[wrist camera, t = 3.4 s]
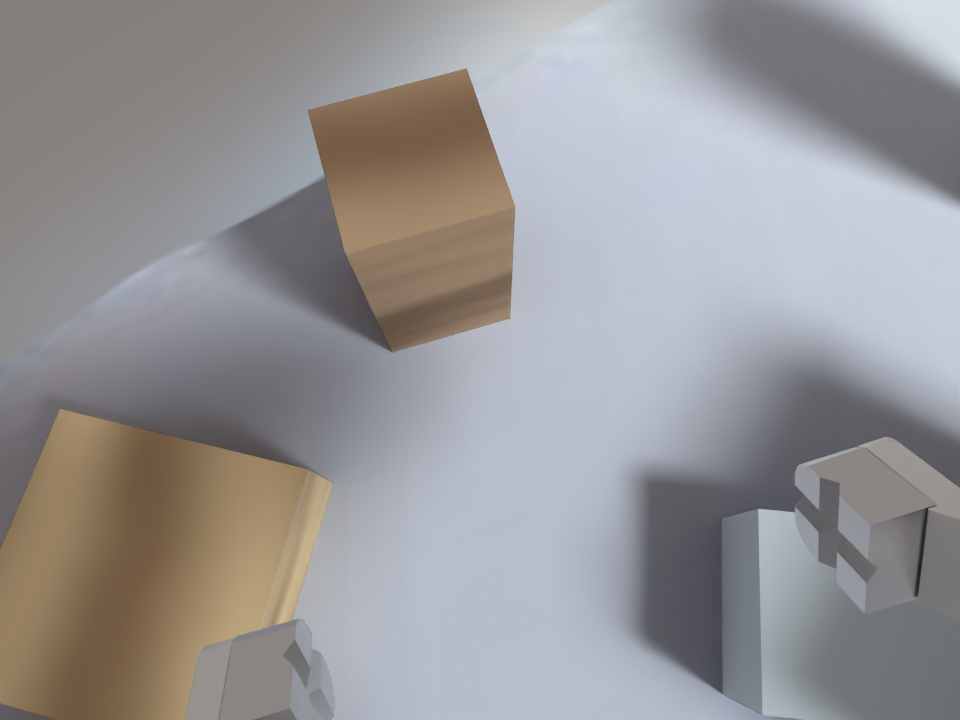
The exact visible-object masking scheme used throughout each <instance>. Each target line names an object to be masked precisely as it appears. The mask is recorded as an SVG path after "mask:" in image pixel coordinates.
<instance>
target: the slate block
mask: <svg viewBox="0 0 960 720" xmlns="http://www.w3.org/2000/svg"><path fill="white" fill-rule="evenodd" d="M722 694H723V695H725V696H727V697H729V698H731V699H733V700H735V701H736V702H738V703H740V704H742V705H744V706H746V707H748V708H750V709H752V710H754V711H755V712H757V713H759V714H761V715H765V716H774V717H783V718H792V719H801V720H960V622H958V621H956V620H954V619H952V618H950V617H948V616H946V615H944V614H942V613H940V612H938V611H936V610H934V609H932V608H930V607H928V606H925V605H923V604H921V603H919V602H918V599H915V600H911V601H908V602H904V603H901V604H897V605H894V606H891V607H887V608H884V609H880V610H877V611H873V612H870V613H866V614H864V613H863V612H862V610H861V609H860V608H859V607H858V606H857V605H856V604H855V603H854V602H853V600H852V599H851V598H850V597H849V596H848V595H847V594H846V593H845V591H844V590H843V589H842V588H841V587H840V586H839V585H838V584H837V582H836V569H835V568H833V567H830V566H828V565H825V564H823V563H820V562H818V561H817V560H816V558H815V557H814V556H813V555H812V554H811V553H810V551H809V550H808V549H807V547H806V545H805V544H804V542H803V540H802V539H801V536H800V533H799V531H798V528H797V525H796V522H795V512H787V511H777V510H766V509H755V510H752V511H748V512H744V513H740V514H736V515H732V516H728V517H724V518H722Z"/></svg>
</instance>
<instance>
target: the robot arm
mask: <svg viewBox="0 0 960 720" xmlns="http://www.w3.org/2000/svg"><path fill="white" fill-rule="evenodd" d="M795 486H796V487H797V488H798V489H799V490H800V491H801V492H802V493H803V494H802V496H801V497H800V499H799V500H798V502H797V503H796V505H795V522H796V525H797V528H798V531H799V533H800V536H801V539H802V540H803V542H804V544H805V545H806V547H807V549H808V550H809V551H810V553H811V554H812V555H813V556H814V557H815V558H816V560H817V561H818V562H820V563H823V564H825V565H828V566H830V567H833V568H835V569H836V582H837V584H838V585H839V586H840V587H841V588H842V589H843V590H844V591H845V593H846V594H847V595H848V596H849V597H850V598H851V599H852V600H853V602H854V603H855V604H856V605H857V606H858V607H859V608H860V609H861V610H862V612H863V613H864V614H866V613H870V612H873V611H877V610H880V609H884V608H887V607H891V606H894V605H897V604H901V603H904V602H908V601H911V600H915V599H918V602H919V603H921V604H923V605H925V606H928V607H930V608H932V609H934V610H936V611H938V612H940V613H942V614H944V615H946V616H948V617H950V618H952V619H954V620H956V621H958V622H960V488H959V487H958V486H957V485H955V484H954V483H953V482H951V481H950V480H949V479H947V478H946V477H945V476H943V475H942V474H941V473H939V472H938V471H937V470H935V469H934V468H933V467H931V466H930V465H929V464H927V463H926V462H925V461H923V460H922V459H921V458H919V457H918V456H917V455H915V454H914V453H913V452H911V451H910V450H909V449H907V448H906V447H905V446H903V445H902V444H901V443H899V442H898V441H897V440H895V439H892V438H889V437H884V438H880V439H877V440H874V441H871V442H868V443H865V444H862V445H859V446H856V447H855V448H850V449H847V450H843V451H840V452H837V453H834V454H831V455H828V456H825V457H821V458H818V459H815V460H812V461H809V462H806V463H803V464H799V465H798V466H797V469H796V471H795ZM311 641H312V634H311V632H310V630H309V628H308V626H307V624H306V623H305V621H304V620H303V619H296V620H292V621H289V622H285V623H282V624H278V625H275V626H271V627H267V628H264V629H260V630H257V631H253V632H250V633H246V634H243V635H239V636H237V637H235V638H231V639H228V640H224V641H220V642H217V643H213V644H209V645H206V646H204V647H203V649H202V650H201V652H200V653H199V655H198V659H197V663H196V668H195V672H194V677H193V682H192V686H191V691H190V695H189V700H188V704H187V709H186V713H185V718H184V720H332V718H333V716H334V695H333V688H332V682H331V677H330V674H329V671H328V667H327V664H326V662H325V660H324V658H323V656H322V654H321V653H320V652H318V651H315V650H313V649H311Z"/></svg>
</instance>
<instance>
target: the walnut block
mask: <svg viewBox="0 0 960 720" xmlns="http://www.w3.org/2000/svg"><path fill="white" fill-rule="evenodd" d="M308 113H309V116H310V121H311V124H312V128H313V132H314V136H315V140H316V143H317V147H318V151H319V155H320V158H321V163H322V166H323V170H324V174H325V178H326V182H327V186H328V190H329V193H330V197H331V201H332V205H333V209H334V213H335V216H336V220H337V224H338V228H339V232H340V236H341V239H342V243H343V247H344V251H345V254H346V256H347V259H348V261H349V263H350V265H351V267H352V269H353V271H354V273H355V275H356V277H357V280H358V282H359V284H360V286H361V288H362V290H363V292H364V294H365V296H366V298H367V301H368V303H369V305H370V307H371V309H372V311H373V313H374V315H375V317H376V319H377V322H378V324H379V326H380V328H381V330H382V332H383V334H384V336H385V338H386V340H387V343H388V345H389V347H390V349H391V351H392V352H395V351H398V350H402V349H405V348H409V347H412V346H416V345H419V344H423V343H426V342H430V341H433V340H437V339H440V338H444V337H447V336H450V335H454V334H457V333H461V332H464V331H468V330H471V329H475V328H478V327H482V326H485V325H489V324H492V323H496V322H499V321H503V320H506V319H510V308H511V286H512V265H513V243H514V221H515V205H514V202H513V199H512V197H511V194H510V191H509V188H508V185H507V182H506V179H505V177H504V174H503V171H502V168H501V165H500V162H499V160H498V157H497V154H496V151H495V148H494V145H493V142H492V140H491V137H490V134H489V131H488V128H487V125H486V123H485V120H484V117H483V114H482V111H481V108H480V105H479V103H478V100H477V97H476V94H475V91H474V88H473V86H472V83H471V80H470V77H469V74H468V71H467V69H463V70H460V71H455V72H452V73H448V74H444V75H440V76H436V77H432V78H429V79H425V80H421V81H417V82H413V83H410V84H406V85H402V86H398V87H394V88H391V89H387V90H383V91H379V92H375V93H372V94H368V95H364V96H360V97H356V98H352V99H349V100H345V101H341V102H337V103H333V104H330V105H326V106H322V107H318V108H315V109H311V110H308Z"/></svg>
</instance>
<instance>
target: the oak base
mask: <svg viewBox="0 0 960 720" xmlns="http://www.w3.org/2000/svg"><path fill="white" fill-rule="evenodd" d="M332 485H333V483H332V482H330V481H328V480H327V479H325V478H323V477H321V476H319V475H317V474H316V473H314V472H312V471H310V470H308V469H305V468H301V467H297V466H292V465H288V464H284V463H280V462H276V461H272V460H268V459H264V458H260V457H256V456H251V455H247V454H243V453H239V452H235V451H231V450H227V449H223V448H219V447H215V446H210V445H206V444H202V443H198V442H194V441H190V440H186V439H182V438H178V437H173V436H169V435H165V434H161V433H157V432H153V431H149V430H145V429H141V428H137V427H132V426H128V425H124V424H120V423H116V422H112V421H108V420H104V419H100V418H96V417H91V416H87V415H83V414H79V413H75V412H71V411H67V410H63V409H60V410H59V413H58V415H57V417H56V420H55V422H54V424H53V427H52V429H51V431H50V434H49V436H48V438H47V441H46V443H45V445H44V448H43V450H42V452H41V455H40V457H39V459H38V462H37V464H36V467H35V469H34V471H33V474H32V476H31V478H30V481H29V483H28V485H27V488H26V490H25V492H24V495H23V497H22V499H21V502H20V504H19V506H18V509H17V511H16V513H15V516H14V518H13V521H12V523H11V525H10V528H9V530H8V532H7V535H6V537H5V539H4V542H3V544H2V546H1V549H0V703H1V704H4V705H7V706H11V707H14V708H18V709H21V710H25V711H28V712H32V713H35V714H39V715H42V716H46V717H49V718H53V719H56V720H184V718H185V713H186V709H187V704H188V700H189V695H190V691H191V686H192V682H193V677H194V672H195V668H196V663H197V659H198V655H199V653H200V652H201V650H202V649H203V647H204V646H206V645H209V644H213V643H217V642H220V641H224V640H228V639H231V638H235V637H237V636H239V635H243V634H246V633H250V632H253V631H257V630H260V629H264V628H267V627H271V626H275V625H278V624H282V623H285V622H289V621H292V618H293V615H294V611H295V608H296V605H297V601H298V598H299V595H300V591H301V588H302V585H303V581H304V578H305V575H306V571H307V568H308V565H309V561H310V558H311V555H312V551H313V548H314V545H315V541H316V538H317V535H318V531H319V528H320V525H321V521H322V518H323V515H324V511H325V508H326V505H327V501H328V498H329V495H330V491H331V488H332Z"/></svg>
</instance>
